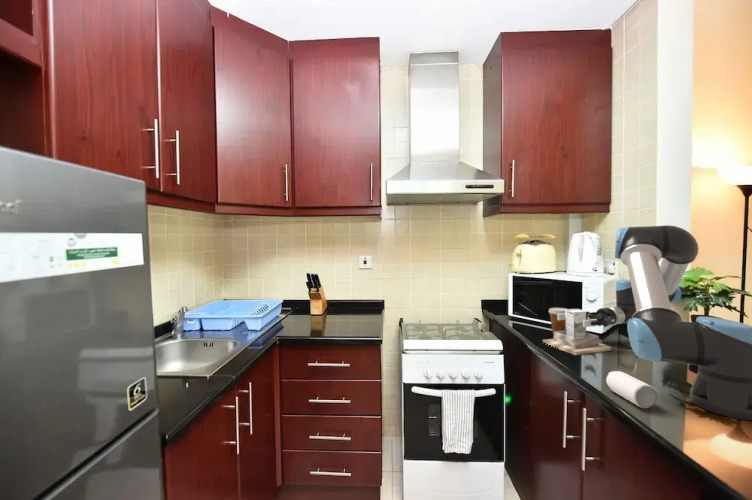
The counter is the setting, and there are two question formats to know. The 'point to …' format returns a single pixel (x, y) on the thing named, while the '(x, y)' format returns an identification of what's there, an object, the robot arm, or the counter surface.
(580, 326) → the syrup box
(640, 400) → the can
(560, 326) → the disposable coffee cup
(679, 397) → the counter surface
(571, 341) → the stand
